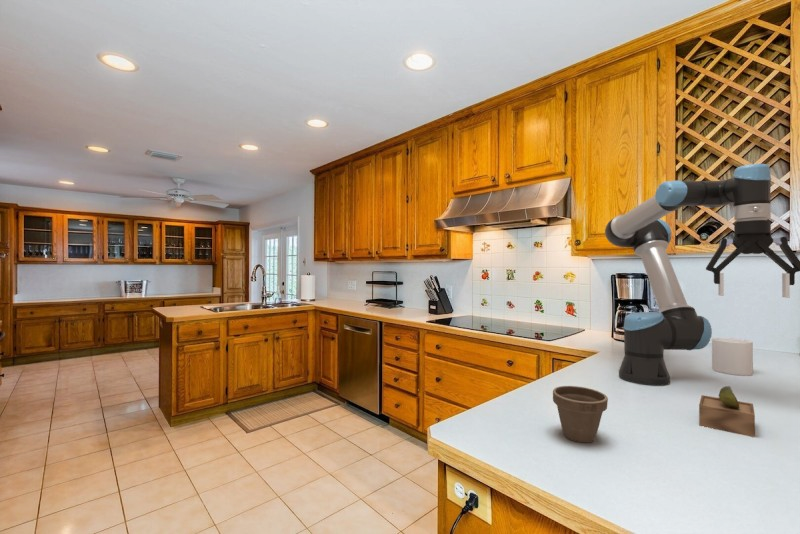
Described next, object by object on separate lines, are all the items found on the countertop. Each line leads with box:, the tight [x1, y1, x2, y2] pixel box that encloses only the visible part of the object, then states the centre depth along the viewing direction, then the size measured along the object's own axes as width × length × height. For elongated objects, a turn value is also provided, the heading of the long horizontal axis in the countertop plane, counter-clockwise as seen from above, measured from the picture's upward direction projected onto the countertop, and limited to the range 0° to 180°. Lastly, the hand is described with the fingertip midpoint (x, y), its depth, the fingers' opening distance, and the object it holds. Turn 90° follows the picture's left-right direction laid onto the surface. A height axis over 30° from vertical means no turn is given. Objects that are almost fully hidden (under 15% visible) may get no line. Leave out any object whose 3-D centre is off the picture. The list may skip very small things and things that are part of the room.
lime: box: [718, 385, 740, 408], centre depth 94 cm, size 4×5×5 cm
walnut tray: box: [698, 394, 756, 438], centre depth 94 cm, size 10×10×6 cm
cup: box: [711, 337, 754, 377], centre depth 145 cm, size 12×12×12 cm
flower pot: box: [552, 385, 609, 443], centre depth 87 cm, size 12×11×10 cm
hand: (752, 296), depth 107 cm, fingers open, 13 cm apart
